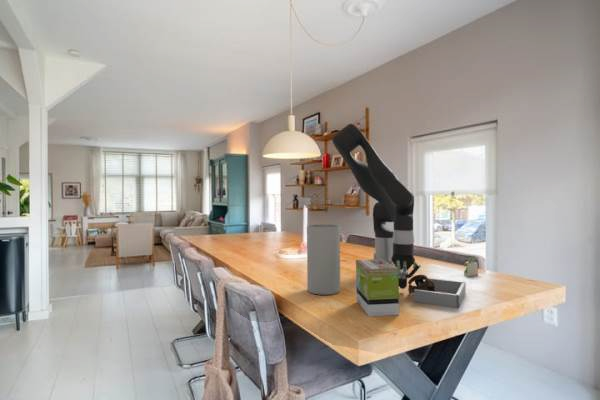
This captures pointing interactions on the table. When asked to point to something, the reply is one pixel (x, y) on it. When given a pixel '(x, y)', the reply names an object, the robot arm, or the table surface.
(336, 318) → the table surface
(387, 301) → the tea box
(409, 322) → the table surface
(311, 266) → the cylinder vase
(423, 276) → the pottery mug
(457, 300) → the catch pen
